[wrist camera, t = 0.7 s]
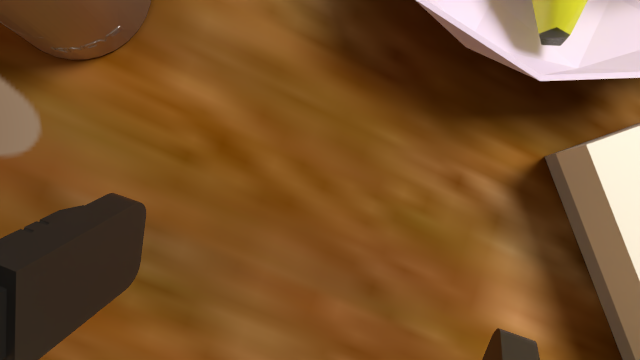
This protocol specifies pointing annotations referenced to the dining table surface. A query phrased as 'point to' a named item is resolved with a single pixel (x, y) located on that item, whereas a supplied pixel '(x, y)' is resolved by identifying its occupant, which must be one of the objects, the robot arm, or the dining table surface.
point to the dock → (607, 223)
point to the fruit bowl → (548, 35)
